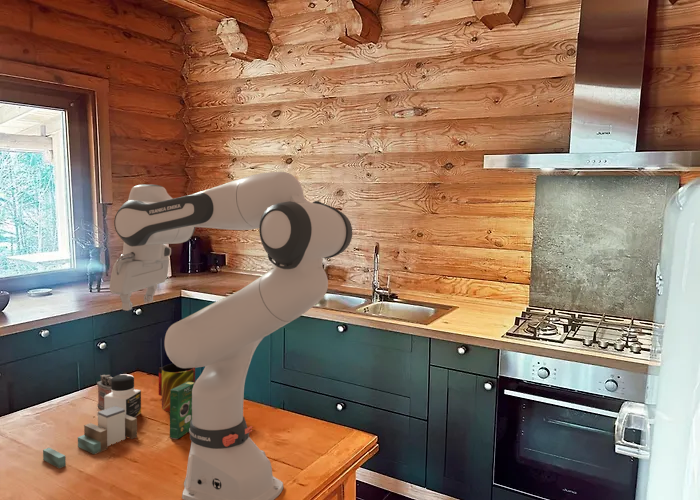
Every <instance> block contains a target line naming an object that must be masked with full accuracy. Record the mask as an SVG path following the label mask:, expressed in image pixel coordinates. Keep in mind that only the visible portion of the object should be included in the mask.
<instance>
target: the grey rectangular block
mask: <svg viewBox="0 0 700 500" xmlns="http://www.w3.org/2000/svg"><path fill="white" fill-rule="evenodd" d="M97 426H99V427H102V428H104V429H106V430H107V447H109V446H111V444H112V445H114V444H117V443H119V442H122V441H124V440H125V439H126V436H125V409H122V408H120V407H117V406H114V407H111V408H108V409H105V410H100V411H98V412H97ZM121 440H122V441H121ZM116 442H117V443H116Z"/></svg>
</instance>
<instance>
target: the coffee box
mask: <svg viewBox="0 0 700 500" xmlns="http://www.w3.org/2000/svg"><path fill="white" fill-rule="evenodd" d="M195 382H196V381H195ZM195 382H186V383H184V384H182V385H180V386H177V387H175V388H173V389H171V390H170V412H169V438H170V439H173V440H179V439H180V438H182V437H183V436H184V435H186V434H188V433H189V428H190V422H191V420H192V389H193V386H194V384H195Z"/></svg>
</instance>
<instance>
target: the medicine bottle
mask: <svg viewBox="0 0 700 500" xmlns="http://www.w3.org/2000/svg"><path fill="white" fill-rule="evenodd" d="M114 406H117V407H120V408H122V409H125V414H126V415H129V416H131V417H134V418H137V416H139V415H140V414H141V413H142V391H141V389H135V377H134V376H133V375H132V374H127V373H123V374H121V373H120V374H117V375H115V376H113V378H112V379H111V393H109V394H107V395H105V396H104V410H105V409H108V408H111V407H114Z"/></svg>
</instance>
